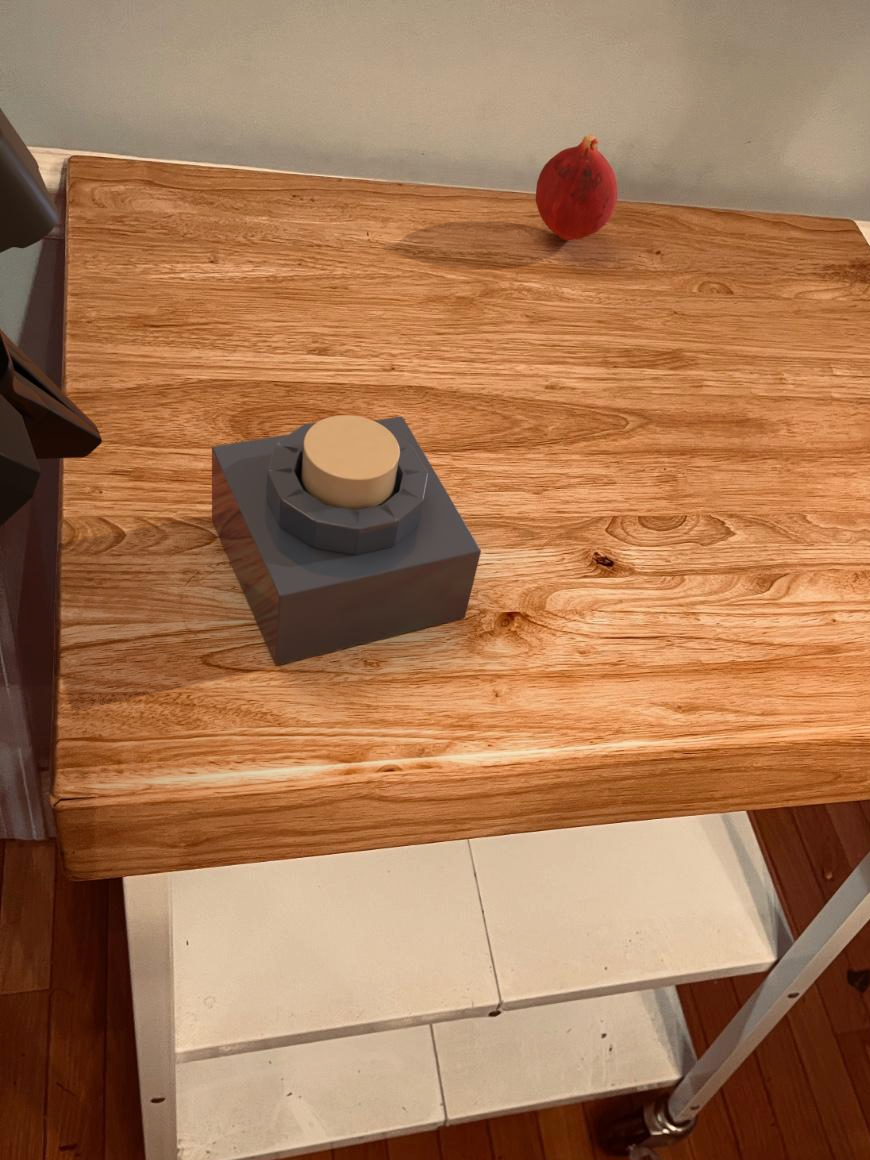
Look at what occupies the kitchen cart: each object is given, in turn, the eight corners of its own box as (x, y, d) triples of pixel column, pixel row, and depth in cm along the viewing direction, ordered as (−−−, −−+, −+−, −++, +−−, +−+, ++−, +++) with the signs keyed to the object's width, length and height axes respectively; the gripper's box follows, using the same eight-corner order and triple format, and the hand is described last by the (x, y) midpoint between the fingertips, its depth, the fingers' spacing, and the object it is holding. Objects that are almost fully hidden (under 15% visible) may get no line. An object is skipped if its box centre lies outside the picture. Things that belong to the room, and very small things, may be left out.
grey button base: (275, 666, 57) (281, 569, 51) (211, 520, 62) (211, 417, 56) (465, 618, 61) (488, 524, 56) (391, 486, 66) (406, 389, 61)
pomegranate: (602, 270, 86) (631, 169, 80) (524, 252, 85) (547, 148, 79) (604, 227, 89) (631, 127, 84) (529, 209, 88) (551, 107, 83)
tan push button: (320, 518, 54) (323, 487, 53) (288, 454, 57) (290, 422, 55) (409, 501, 57) (414, 470, 55) (374, 439, 59) (379, 408, 57)
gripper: (-109, 206, 27) (328, 475, 40) (-213, -143, 36) (170, 169, 49) (-414, 515, 29) (99, 674, 42) (-438, 109, 38) (-12, 344, 51)
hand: (92, 443), depth 46 cm, fingers closed
